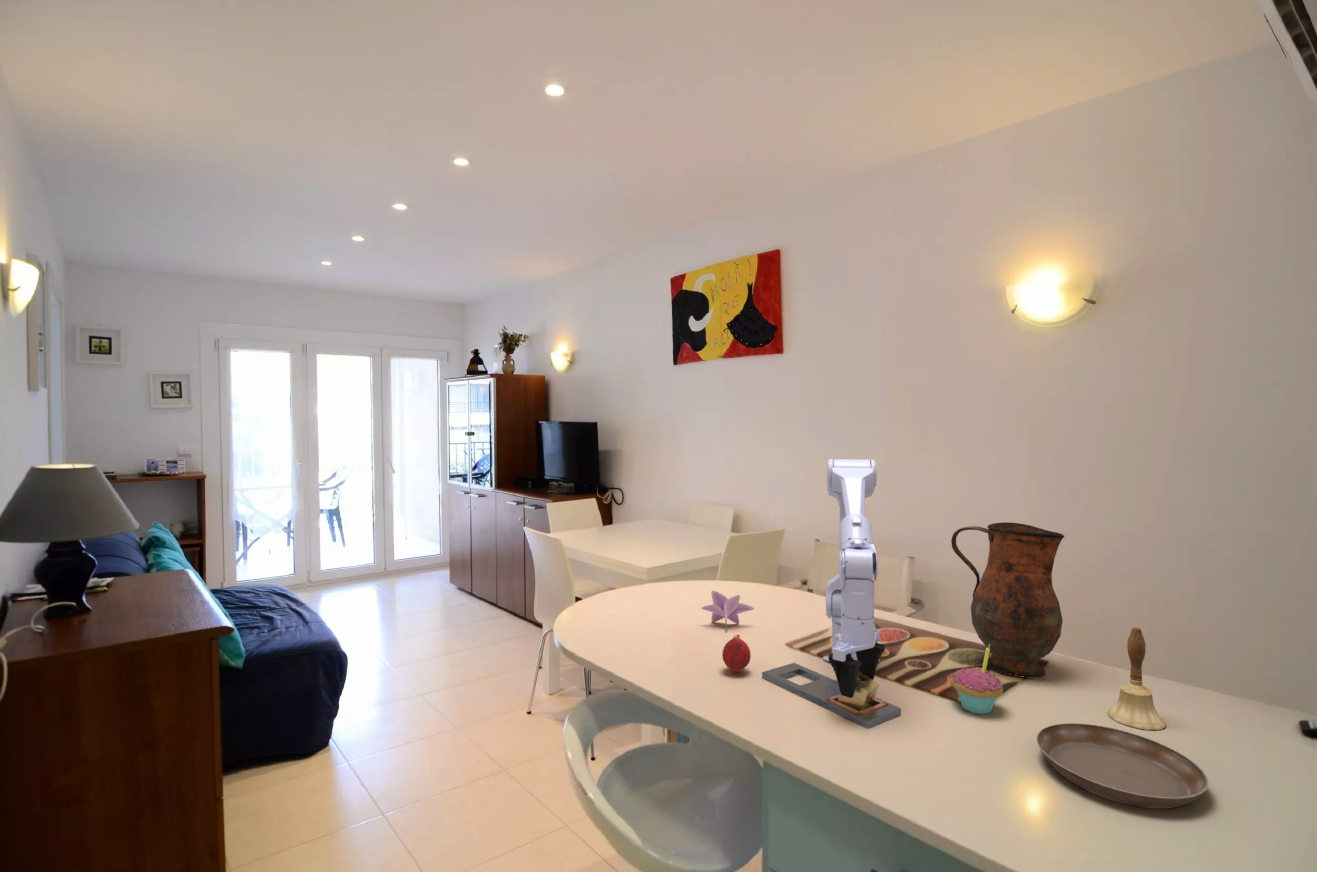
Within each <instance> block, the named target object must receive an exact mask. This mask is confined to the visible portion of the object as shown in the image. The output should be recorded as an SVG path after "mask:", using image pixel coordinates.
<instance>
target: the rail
mask: <svg viewBox="0 0 1317 872" xmlns="http://www.w3.org/2000/svg"><path fill="white" fill-rule="evenodd" d="M761 676H762V677H761V678H762V679H764V680H766V681H768V682H770V683H772V684H774V685H776V686H778V687H781V689H784V690H787V691H789V692H791V693H793V694H795V695H797V696H799V697H801V698H803V699H806V700H808V701H810V702H812V703H814V704H816V705H818V706H820V707H822V708H824V709H826V710H829V711H830V712H832V713H834V714H837V715H838V716H841V717H842V718H845V719H847V720H848V721H851V722H853V723H855V724H858V725H859V726H861V727H864V728H866V729H869V728H872V727H875V726H877V725H880V724H882V723H884V722H887V721H889V720H892V719H894V718H897V717H899V716H902V715H901V714H902V708H901V707H899V706H896V705H895V704H892V703H890V702H887V701H885V700H882V699H881V698H878V697H876V696H875V698H874V700H873V703H872V705H871V707H870V708H867V709H865V710H862V711H857V710H855V709H853V708H851V707H848V706H846V705H844V704H842V703H840V702H839V701H837V700H838V697H839V695H840V689H839V685H838V681H837V679H833V678H831V677H828V676H826V675H823V674H821V673H819V672H816V671H814V670H812V669H810V668H807V667H804V666H803V665H800V664H799V663H798V664H797V663H795V662H793V663H788V664H785V665H781V666H778V667H774V668H772V669H768V670H764V671H762V672H761ZM797 676H801V677H804V678H806V679H808V680H810V681H809V682H806V683H803V684H801V685H800V684H798V683H796V682H793V681H791V680H789V678H793V677H797Z"/></svg>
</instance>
